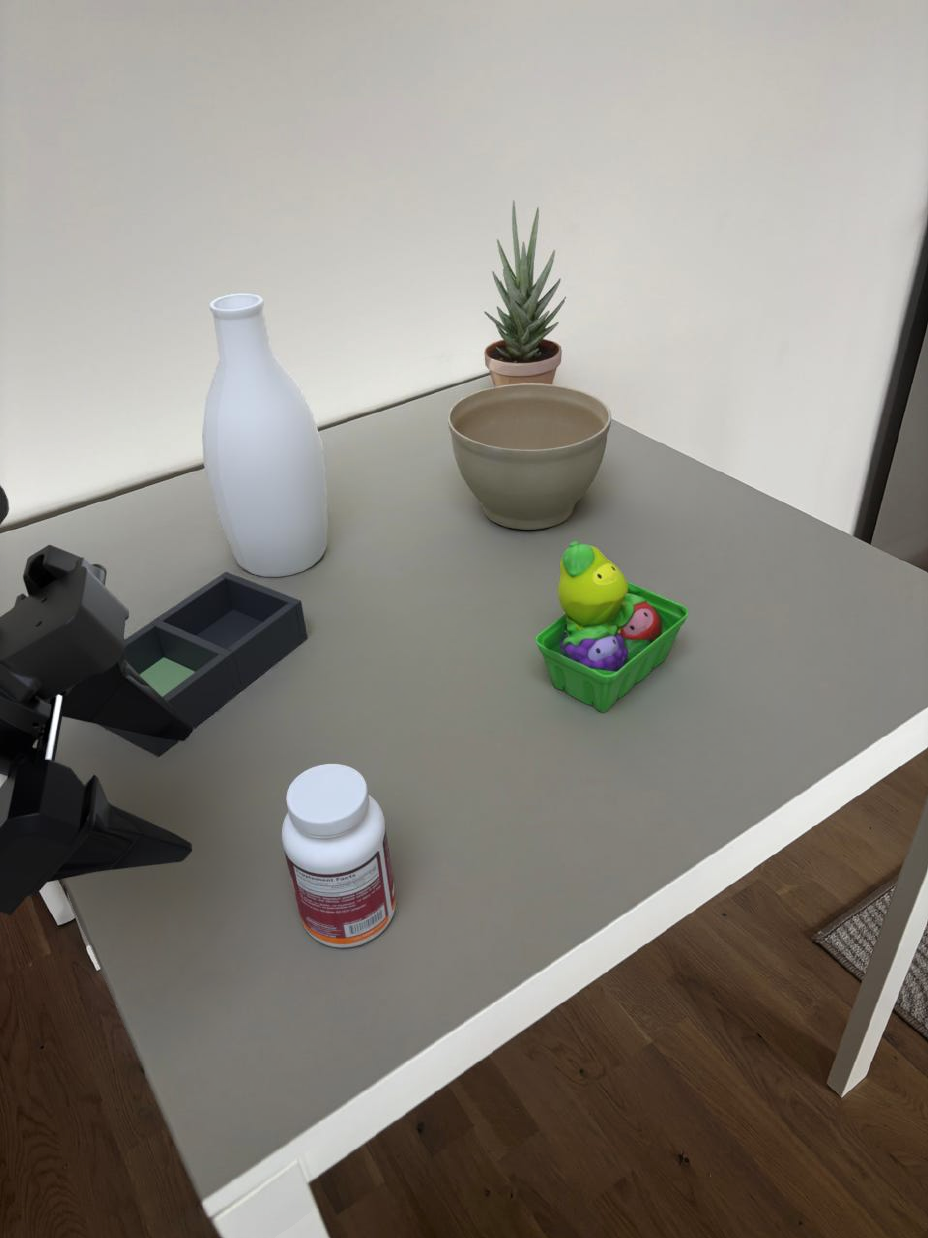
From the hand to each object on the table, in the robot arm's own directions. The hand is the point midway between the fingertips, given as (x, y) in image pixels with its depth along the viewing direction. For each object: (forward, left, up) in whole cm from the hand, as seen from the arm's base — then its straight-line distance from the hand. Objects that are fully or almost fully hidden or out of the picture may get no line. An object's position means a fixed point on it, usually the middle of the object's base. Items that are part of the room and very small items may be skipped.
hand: (188, 789), depth 53 cm
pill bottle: (+5, -5, -13) cm, 15 cm away
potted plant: (+78, +25, -13) cm, 83 cm away
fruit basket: (+35, -8, -13) cm, 39 cm away
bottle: (+35, +28, -13) cm, 47 cm away
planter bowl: (+55, +11, -13) cm, 58 cm away
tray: (+17, +21, -13) cm, 30 cm away
